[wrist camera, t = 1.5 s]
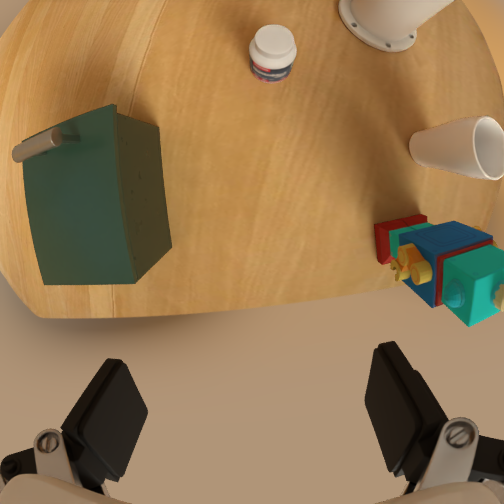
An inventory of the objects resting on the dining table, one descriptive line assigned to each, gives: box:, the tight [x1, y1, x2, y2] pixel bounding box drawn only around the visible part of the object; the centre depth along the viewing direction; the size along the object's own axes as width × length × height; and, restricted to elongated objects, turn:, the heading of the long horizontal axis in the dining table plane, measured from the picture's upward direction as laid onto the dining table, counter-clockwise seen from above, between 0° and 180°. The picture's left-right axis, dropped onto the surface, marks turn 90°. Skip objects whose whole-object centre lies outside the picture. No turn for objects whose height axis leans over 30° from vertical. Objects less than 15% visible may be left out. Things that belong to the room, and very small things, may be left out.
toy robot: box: [374, 214, 504, 327], centre depth 24 cm, size 12×6×25 cm, turn 103°
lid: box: [12, 104, 138, 285], centre depth 21 cm, size 17×14×6 cm
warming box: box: [117, 113, 172, 280], centre depth 29 cm, size 17×14×12 cm
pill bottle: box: [249, 24, 297, 83], centre depth 25 cm, size 5×5×9 cm
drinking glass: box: [409, 116, 504, 180], centre depth 25 cm, size 7×7×15 cm
